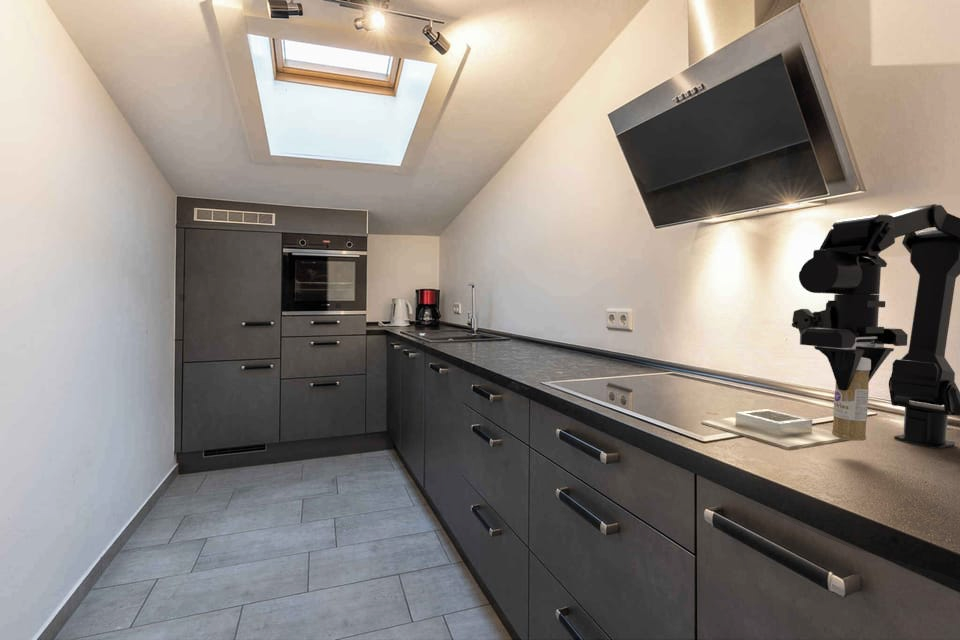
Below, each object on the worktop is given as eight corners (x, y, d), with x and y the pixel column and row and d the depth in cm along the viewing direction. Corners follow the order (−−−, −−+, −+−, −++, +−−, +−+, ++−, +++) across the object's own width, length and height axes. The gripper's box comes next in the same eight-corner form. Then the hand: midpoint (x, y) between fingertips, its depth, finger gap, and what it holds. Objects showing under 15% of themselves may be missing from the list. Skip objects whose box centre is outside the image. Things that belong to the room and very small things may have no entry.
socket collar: (766, 420, 97) (766, 409, 97) (811, 432, 89) (812, 419, 89) (735, 424, 94) (735, 412, 94) (779, 437, 85) (780, 423, 85)
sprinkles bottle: (824, 433, 78) (828, 355, 78) (849, 433, 79) (853, 355, 78) (848, 442, 74) (853, 358, 73) (874, 441, 74) (879, 358, 74)
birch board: (760, 416, 103) (760, 414, 103) (851, 439, 87) (851, 436, 87) (701, 423, 96) (701, 421, 96) (787, 449, 80) (788, 446, 80)
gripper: (837, 295, 86) (833, 378, 87) (770, 293, 79) (766, 383, 80) (911, 295, 76) (906, 389, 77) (842, 293, 69) (836, 396, 70)
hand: (851, 389), depth 76 cm, fingers closed on sprinkles bottle, 4 cm apart
